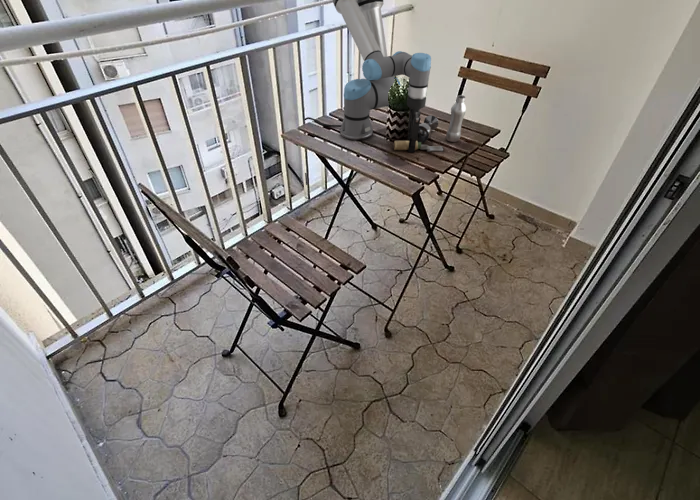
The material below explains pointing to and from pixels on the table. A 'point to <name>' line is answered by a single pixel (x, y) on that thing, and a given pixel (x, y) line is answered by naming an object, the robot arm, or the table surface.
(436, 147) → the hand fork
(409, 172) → the table surface
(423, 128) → the wine glass
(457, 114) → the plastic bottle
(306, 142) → the table surface
